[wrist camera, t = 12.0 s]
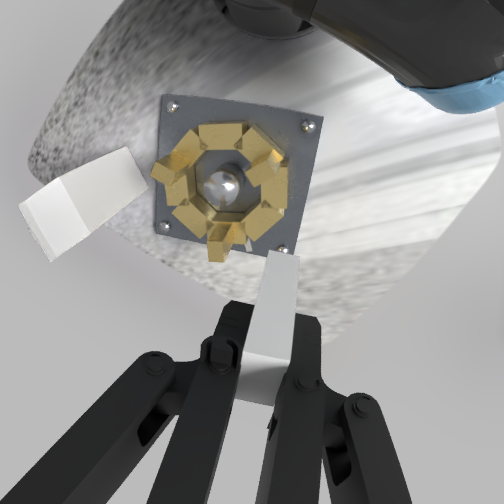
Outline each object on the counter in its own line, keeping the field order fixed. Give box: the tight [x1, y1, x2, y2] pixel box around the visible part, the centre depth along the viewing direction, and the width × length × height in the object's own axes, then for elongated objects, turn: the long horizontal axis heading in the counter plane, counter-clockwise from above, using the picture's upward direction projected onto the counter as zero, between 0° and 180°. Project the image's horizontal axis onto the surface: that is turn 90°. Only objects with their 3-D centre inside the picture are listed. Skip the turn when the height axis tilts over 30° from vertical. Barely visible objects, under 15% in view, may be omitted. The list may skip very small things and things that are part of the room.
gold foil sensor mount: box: [150, 121, 289, 262], centre depth 37 cm, size 15×15×8 cm
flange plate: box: [156, 94, 324, 257], centre depth 39 cm, size 20×20×6 cm
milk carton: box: [18, 146, 149, 262], centre depth 35 cm, size 7×7×19 cm
